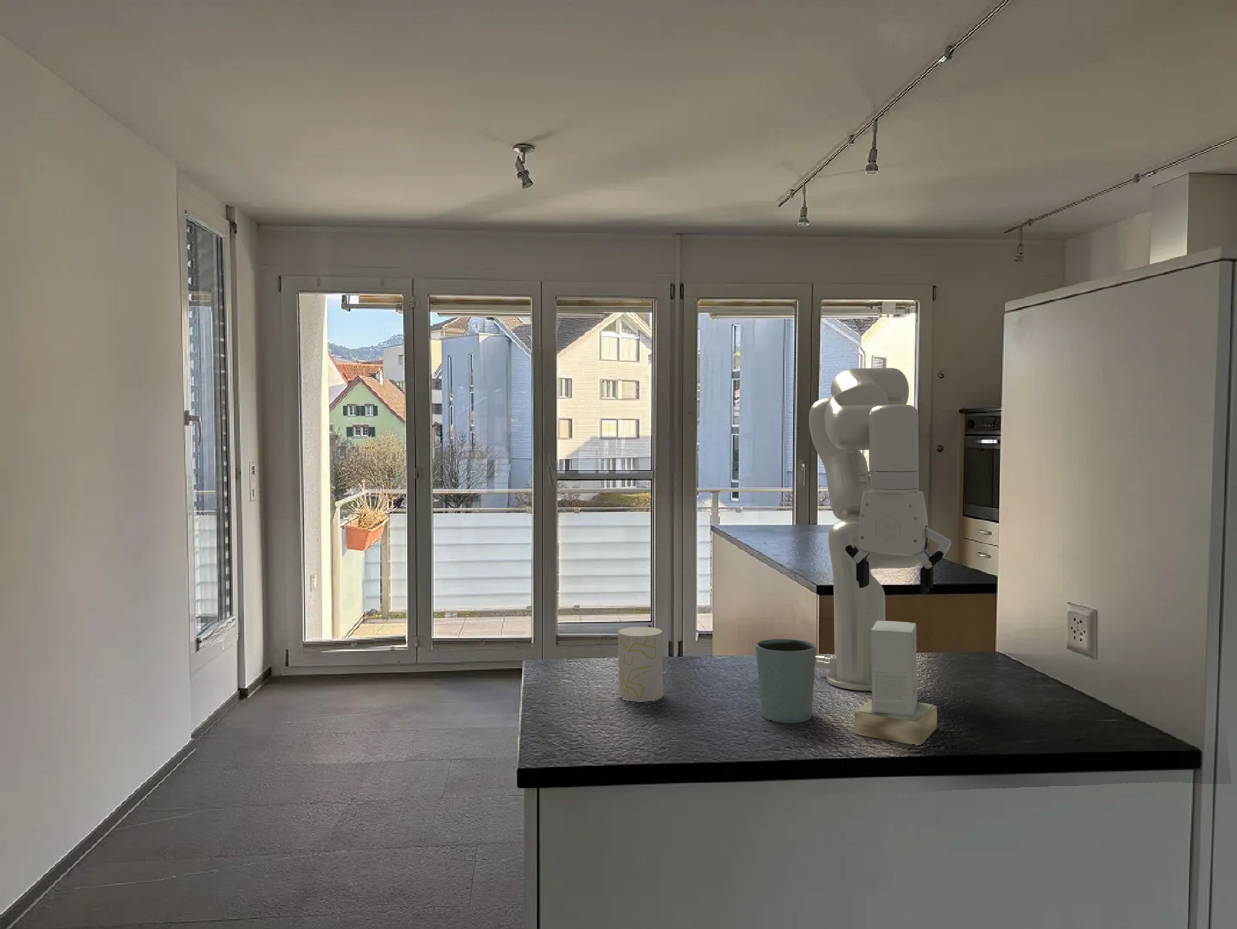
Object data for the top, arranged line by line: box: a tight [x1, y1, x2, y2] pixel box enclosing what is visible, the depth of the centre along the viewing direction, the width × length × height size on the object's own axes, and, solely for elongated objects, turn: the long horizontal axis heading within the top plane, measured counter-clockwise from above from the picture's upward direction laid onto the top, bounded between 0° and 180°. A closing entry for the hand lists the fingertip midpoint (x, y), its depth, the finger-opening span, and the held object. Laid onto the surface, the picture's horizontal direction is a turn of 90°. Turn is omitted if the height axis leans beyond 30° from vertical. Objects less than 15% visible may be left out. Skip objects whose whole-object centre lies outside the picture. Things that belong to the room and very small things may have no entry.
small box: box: [871, 620, 918, 716], centre depth 132 cm, size 8×6×13 cm
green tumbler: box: [754, 638, 817, 724], centre depth 141 cm, size 10×10×12 cm
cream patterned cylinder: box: [617, 626, 664, 702], centre depth 153 cm, size 8×8×12 cm
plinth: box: [854, 698, 938, 746], centre depth 132 cm, size 10×10×4 cm
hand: (893, 589), depth 132 cm, fingers open, 9 cm apart
